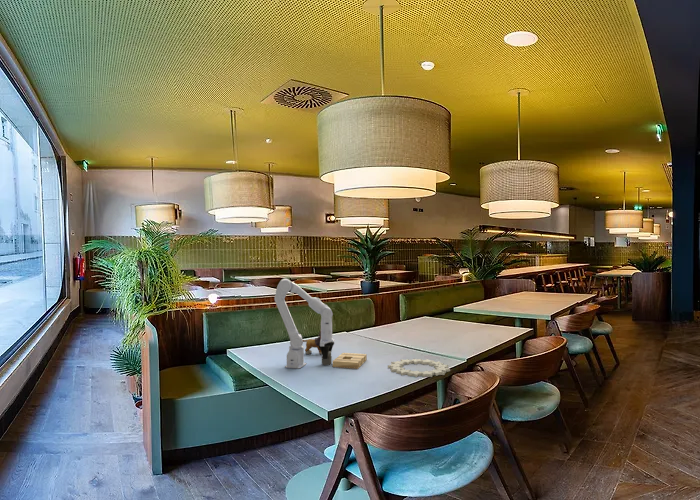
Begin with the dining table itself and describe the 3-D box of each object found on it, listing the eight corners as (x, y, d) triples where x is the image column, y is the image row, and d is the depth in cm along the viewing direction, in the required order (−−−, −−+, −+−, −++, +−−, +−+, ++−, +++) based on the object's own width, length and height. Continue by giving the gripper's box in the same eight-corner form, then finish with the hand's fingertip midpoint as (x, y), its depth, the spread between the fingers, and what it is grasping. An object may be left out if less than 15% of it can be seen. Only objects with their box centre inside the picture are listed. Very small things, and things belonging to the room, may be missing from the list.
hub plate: (357, 368, 217) (357, 362, 217) (332, 367, 221) (332, 360, 221) (366, 359, 235) (366, 353, 234) (343, 358, 238) (343, 352, 238)
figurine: (331, 356, 243) (331, 328, 243) (294, 354, 248) (293, 327, 247) (334, 353, 250) (334, 326, 250) (298, 351, 254) (297, 325, 254)
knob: (329, 365, 223) (329, 352, 223) (320, 365, 224) (320, 351, 224) (332, 363, 227) (332, 350, 227) (323, 362, 229) (323, 349, 229)
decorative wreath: (448, 362, 229) (390, 360, 234) (448, 359, 229) (390, 357, 234) (451, 379, 200) (385, 376, 205) (451, 376, 200) (384, 373, 205)
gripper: (329, 333, 218) (329, 361, 218) (338, 328, 232) (338, 354, 232) (315, 333, 220) (316, 360, 220) (325, 328, 233) (325, 353, 234)
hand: (326, 357), depth 226 cm, fingers closed on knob, 5 cm apart
